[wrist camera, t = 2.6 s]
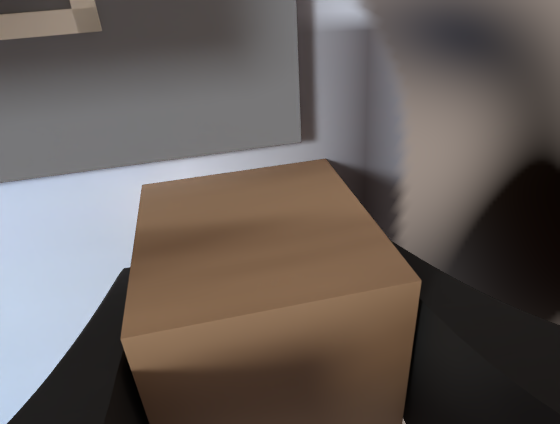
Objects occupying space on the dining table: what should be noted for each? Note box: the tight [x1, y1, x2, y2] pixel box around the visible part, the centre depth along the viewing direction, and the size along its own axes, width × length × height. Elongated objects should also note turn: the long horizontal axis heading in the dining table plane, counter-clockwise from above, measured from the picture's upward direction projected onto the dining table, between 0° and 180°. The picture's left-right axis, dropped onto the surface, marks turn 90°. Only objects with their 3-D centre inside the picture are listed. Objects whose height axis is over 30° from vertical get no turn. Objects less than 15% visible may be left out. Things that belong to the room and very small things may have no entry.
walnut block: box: [120, 159, 422, 424], centre depth 10 cm, size 4×4×5 cm
